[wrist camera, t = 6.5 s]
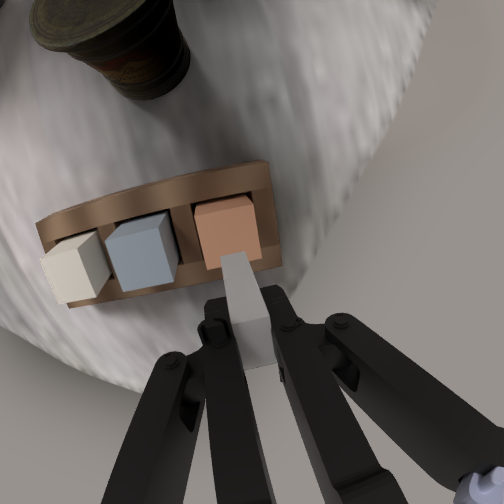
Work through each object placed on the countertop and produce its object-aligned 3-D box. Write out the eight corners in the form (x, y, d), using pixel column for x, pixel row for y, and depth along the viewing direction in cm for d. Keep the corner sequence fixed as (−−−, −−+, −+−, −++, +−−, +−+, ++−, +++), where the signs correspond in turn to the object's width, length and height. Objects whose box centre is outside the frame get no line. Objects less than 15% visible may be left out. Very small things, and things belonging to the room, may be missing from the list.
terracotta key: (206, 246, 30) (207, 269, 24) (196, 202, 28) (194, 216, 22) (251, 236, 30) (261, 258, 25) (243, 192, 28) (253, 204, 23)
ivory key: (79, 277, 27) (58, 304, 22) (64, 238, 25) (39, 259, 20) (113, 269, 28) (96, 297, 22) (99, 228, 26) (77, 248, 20)
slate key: (136, 264, 28) (123, 292, 23) (123, 221, 26) (104, 241, 21) (179, 255, 29) (173, 281, 23) (167, 210, 27) (158, 227, 21)
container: (101, 55, 21) (16, -7, 4) (173, 19, 21) (150, -82, 4) (127, 115, 24) (34, 87, 8) (203, 78, 24) (201, -7, 8)
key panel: (80, 292, 31) (69, 308, 27) (51, 214, 26) (35, 223, 23) (273, 252, 33) (282, 265, 29) (260, 159, 29) (268, 161, 25)
